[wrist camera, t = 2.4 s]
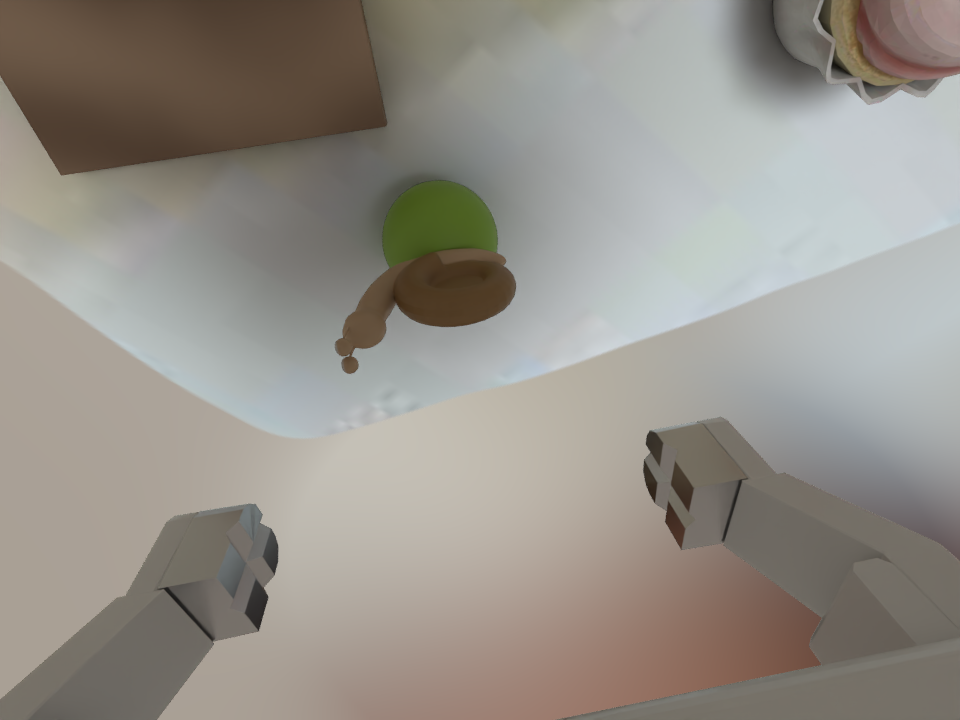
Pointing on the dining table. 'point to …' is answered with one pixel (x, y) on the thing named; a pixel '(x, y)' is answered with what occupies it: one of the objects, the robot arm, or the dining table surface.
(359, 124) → the walnut board
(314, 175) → the dining table surface
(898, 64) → the cupcake
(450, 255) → the snail figurine
